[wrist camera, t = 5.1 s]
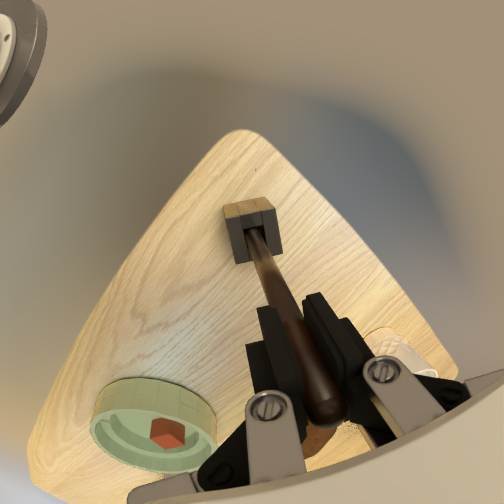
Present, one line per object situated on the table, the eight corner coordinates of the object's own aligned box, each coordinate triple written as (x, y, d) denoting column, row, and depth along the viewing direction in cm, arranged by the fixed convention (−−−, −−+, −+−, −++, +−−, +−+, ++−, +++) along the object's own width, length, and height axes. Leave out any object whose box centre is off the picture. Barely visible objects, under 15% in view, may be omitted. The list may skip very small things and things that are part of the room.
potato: (340, 403, 40) (355, 435, 34) (294, 441, 43) (303, 472, 36) (309, 393, 38) (323, 430, 32) (263, 434, 41) (270, 469, 34)
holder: (232, 244, 29) (235, 264, 24) (223, 205, 27) (225, 218, 23) (272, 235, 29) (283, 253, 24) (264, 196, 27) (275, 207, 23)
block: (166, 431, 37) (165, 450, 34) (151, 419, 36) (149, 438, 33) (185, 426, 37) (184, 445, 34) (170, 414, 36) (169, 433, 32)
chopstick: (244, 235, 26) (314, 441, 7) (240, 222, 25) (311, 421, 7) (257, 231, 26) (353, 428, 7) (254, 219, 25) (353, 407, 7)
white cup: (343, 346, 36) (374, 400, 26) (392, 312, 35) (434, 357, 25) (362, 375, 38) (390, 424, 29) (405, 344, 38) (441, 388, 28)
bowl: (131, 446, 39) (127, 473, 34) (78, 379, 33) (65, 410, 27) (228, 438, 40) (231, 468, 35) (193, 366, 34) (191, 402, 28)
